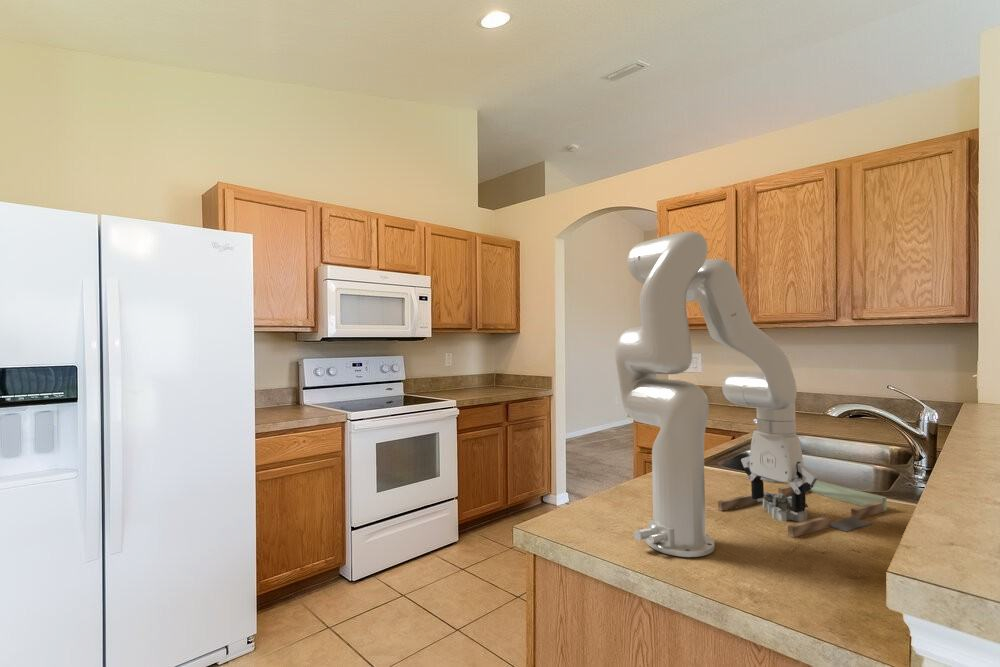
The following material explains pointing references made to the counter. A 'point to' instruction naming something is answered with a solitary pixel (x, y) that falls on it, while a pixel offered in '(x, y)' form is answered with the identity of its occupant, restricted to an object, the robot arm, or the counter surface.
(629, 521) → the counter surface
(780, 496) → the egg carton
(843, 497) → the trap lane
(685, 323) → the robot arm
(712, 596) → the counter surface
